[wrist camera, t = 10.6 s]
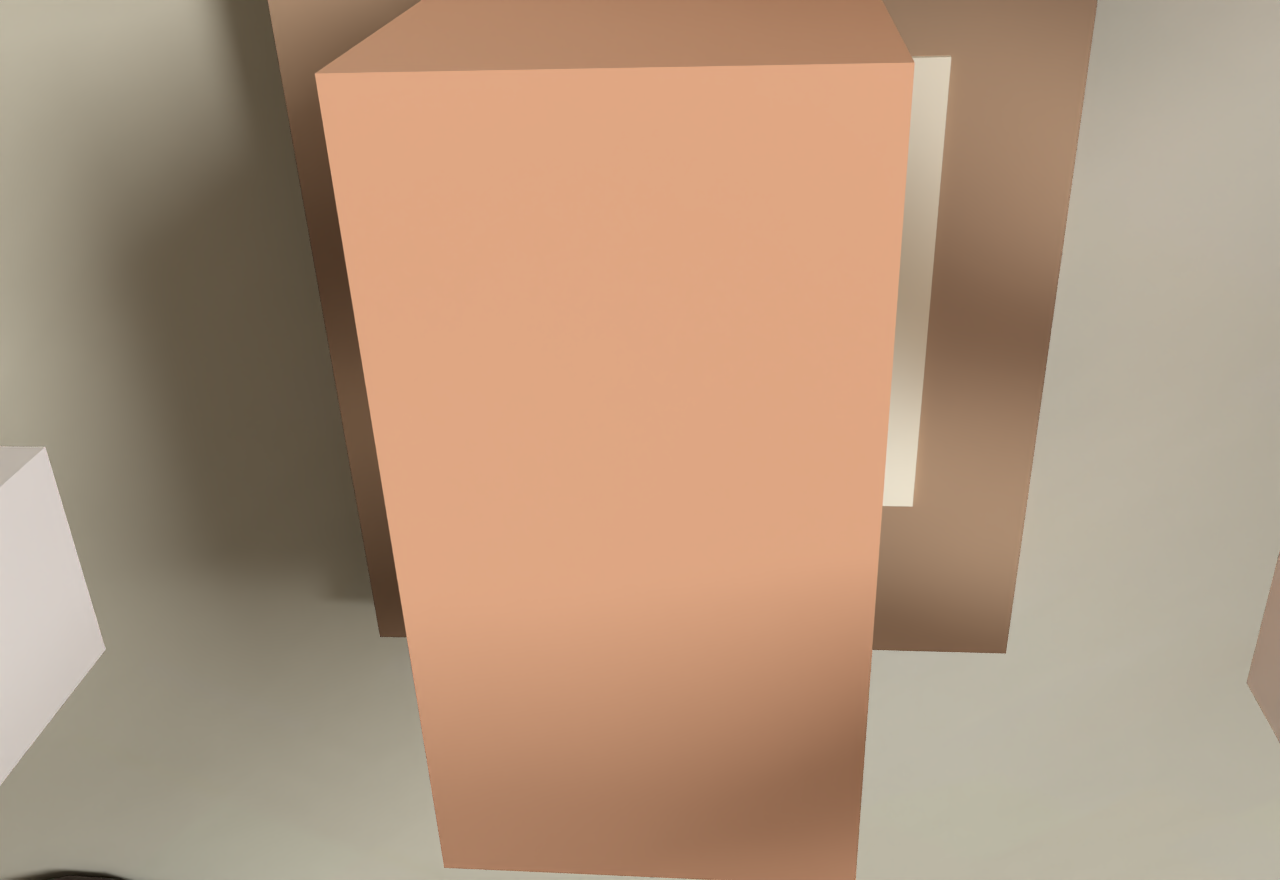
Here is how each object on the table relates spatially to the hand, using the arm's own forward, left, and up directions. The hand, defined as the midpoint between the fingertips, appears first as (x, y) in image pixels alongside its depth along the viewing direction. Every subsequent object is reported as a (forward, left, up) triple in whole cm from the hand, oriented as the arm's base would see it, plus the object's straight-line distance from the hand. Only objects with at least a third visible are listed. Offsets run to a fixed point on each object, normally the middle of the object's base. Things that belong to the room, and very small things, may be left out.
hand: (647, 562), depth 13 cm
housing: (+1, 0, -4) cm, 4 cm away
